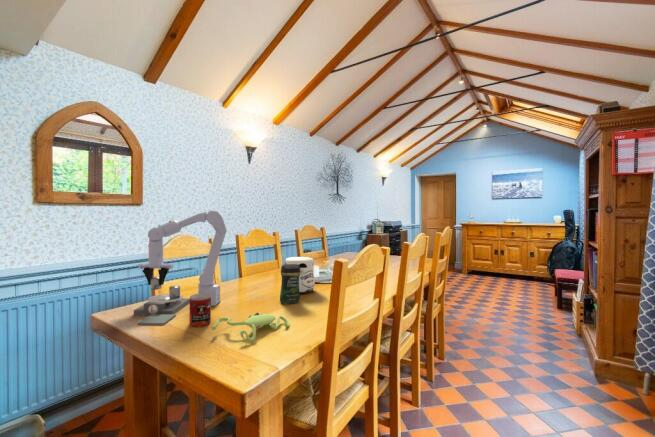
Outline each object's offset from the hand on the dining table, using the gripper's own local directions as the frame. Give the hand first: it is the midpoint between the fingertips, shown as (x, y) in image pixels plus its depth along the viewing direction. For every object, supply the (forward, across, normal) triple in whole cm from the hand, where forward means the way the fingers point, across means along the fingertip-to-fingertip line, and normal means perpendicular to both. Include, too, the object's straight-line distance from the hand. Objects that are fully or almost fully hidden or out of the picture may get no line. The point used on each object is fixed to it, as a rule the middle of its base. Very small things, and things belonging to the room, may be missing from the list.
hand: (156, 284), depth 141 cm
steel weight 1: (+2, 0, 0) cm, 2 cm away
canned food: (+11, +27, -19) cm, 35 cm away
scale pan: (+7, +4, 0) cm, 8 cm away
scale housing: (+10, +4, -1) cm, 11 cm away
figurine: (+11, +49, -25) cm, 56 cm away
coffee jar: (+11, +59, +11) cm, 61 cm away
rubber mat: (+10, +9, -16) cm, 21 cm away
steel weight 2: (+6, +8, 0) cm, 10 cm away
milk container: (+11, +62, +31) cm, 70 cm away
